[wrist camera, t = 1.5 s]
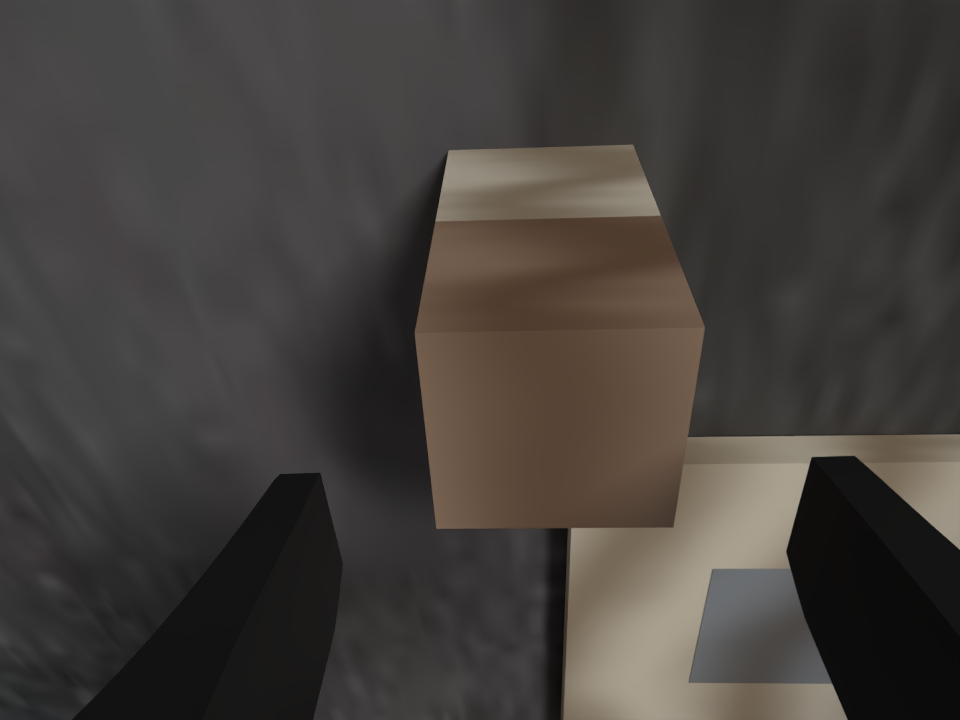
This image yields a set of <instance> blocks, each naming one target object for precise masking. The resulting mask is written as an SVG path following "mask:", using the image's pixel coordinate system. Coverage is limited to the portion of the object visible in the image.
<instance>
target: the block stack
mask: <svg viewBox="0 0 960 720" xmlns="http://www.w3.org/2000/svg"><path fill="white" fill-rule="evenodd" d="M704 330H705V327H704V324H703V322H702V319H701V316H700V314H699V311H698V309H697V306H696V304H695V301H694V299H693V296H692V294H691V291H690V289H689V286H688V284H687V281H686V278H685V276H684V273H683V271H682V268H681V266H680V263H679V261H678V258H677V256H676V253H675V251H674V248H673V245H672V243H671V240H670V238H669V235H668V233H667V230H666V228H665V225H664V223H663V220H662V218H661V215H660V212H659V210H658V207H657V205H656V202H655V200H654V197H653V195H652V192H651V190H650V187H649V185H648V182H647V180H646V177H645V174H644V172H643V169H642V167H641V164H640V162H639V159H638V157H637V154H636V152H635V149H634V147H633V145H612V146H579V147H546V148H513V149H480V150H449V151H448V157H447V162H446V167H445V173H444V178H443V184H442V189H441V194H440V200H439V205H438V210H437V216H436V221H435V226H434V232H433V237H432V243H431V248H430V253H429V259H428V264H427V269H426V275H425V280H424V285H423V291H422V296H421V301H420V307H419V312H418V318H417V323H416V328H415V341H416V350H417V359H418V368H419V377H420V386H421V395H422V404H423V413H424V422H425V431H426V440H427V449H428V458H429V467H430V476H431V485H432V494H433V503H434V512H435V521H436V529H493V528H673V527H674V521H675V514H676V508H677V502H678V495H679V489H680V483H681V476H682V470H683V464H684V457H685V451H686V445H687V438H688V432H689V425H690V419H691V413H692V406H693V400H694V394H695V387H696V381H697V375H698V368H699V362H700V356H701V349H702V343H703V336H704Z"/></svg>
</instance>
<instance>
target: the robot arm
mask: <svg viewBox="0 0 960 720" xmlns="http://www.w3.org/2000/svg"><path fill="white" fill-rule="evenodd" d="M786 554H787V557H788V561H789V565H790V568H791V572H792V576H793V580H794V583H795V587H796V590H797V594H798V597H799V601H800V604H801V607H802V611H803V614H804V617H805V620H806V622H807V625H808V627H809V630H810V632H811V635H812V637H813V639H814V642H815V644H816V647H817V649H818V651H819V654H820V656H821V659H822V661H823V663H824V666H825V668H826V670H827V673H828V675H829V677H830V680H831V682H832V684H833V687H834V689H835V692H836V694H837V696H838V699H839V701H840V703H841V706H842V708H843V710H844V713H845V715H846V717H847V720H960V549H959V548H957V547H956V546H955V545H954V544H953V543H952V542H951V541H949V540H948V539H947V538H946V537H945V536H944V535H943V534H942V533H940V532H939V531H938V530H937V529H936V528H935V527H934V526H933V525H931V524H930V523H929V522H928V521H927V520H926V519H925V518H924V517H922V516H921V515H920V514H919V513H918V512H917V511H916V510H915V509H914V508H912V507H911V506H910V505H909V504H908V503H907V502H906V501H905V500H904V499H902V498H901V497H900V496H899V495H898V494H897V493H896V492H895V491H894V490H893V489H891V488H890V487H889V486H888V485H887V484H886V483H885V482H884V481H883V480H882V479H880V478H879V477H878V476H877V475H876V474H875V473H874V472H873V471H872V470H870V469H869V468H868V467H867V466H866V465H865V464H864V463H863V462H861V461H860V460H859V459H858V458H857V457H856V456H827V457H811V461H810V465H809V468H808V472H807V476H806V480H805V483H804V487H803V491H802V494H801V498H800V502H799V505H798V509H797V513H796V516H795V520H794V524H793V528H792V531H791V535H790V539H789V542H788V546H787V550H786ZM342 565H343V563H342V559H341V555H340V551H339V547H338V543H337V538H336V534H335V530H334V526H333V522H332V518H331V514H330V510H329V506H328V502H327V498H326V494H325V490H324V486H323V482H322V478H321V474H320V473H301V474H280V475H279V476H278V477H277V478H276V479H275V480H274V481H273V483H272V484H271V485H270V487H269V488H268V489H267V491H266V492H265V494H264V495H263V496H262V498H261V499H260V500H259V502H258V503H257V505H256V506H255V507H254V509H253V510H252V512H251V513H250V514H249V516H248V517H247V518H246V520H245V521H244V522H243V524H242V525H241V527H240V528H239V529H238V531H237V532H236V533H235V534H234V536H233V537H232V538H231V540H230V541H229V542H228V544H227V545H226V546H225V548H224V549H223V550H222V552H221V553H220V554H219V556H218V557H217V558H216V559H215V561H214V562H213V563H212V564H211V566H210V567H209V568H208V569H207V571H206V572H205V573H204V574H203V576H202V577H201V578H200V580H199V581H198V582H197V583H196V585H195V586H194V587H193V588H192V590H191V591H190V592H189V593H188V595H187V596H186V597H185V598H184V599H183V601H182V602H181V603H180V604H179V605H178V606H177V608H176V609H175V610H174V611H173V612H172V613H171V615H170V616H169V617H168V618H167V619H166V620H165V621H164V623H163V624H162V625H161V626H160V627H159V628H158V630H157V631H156V632H155V633H154V634H153V635H152V636H151V638H150V639H149V640H148V641H147V642H146V643H145V645H144V646H143V647H142V648H141V649H140V650H139V651H138V652H137V653H136V655H135V656H134V657H133V658H132V659H131V660H130V661H129V662H128V663H127V664H126V665H125V666H124V667H123V669H122V670H121V671H120V672H119V673H118V674H117V675H116V676H115V677H114V678H113V679H112V680H111V681H110V682H109V683H108V684H107V685H106V686H105V687H104V688H103V689H102V690H101V691H100V692H99V693H98V694H97V695H96V696H95V697H94V698H93V699H92V700H91V701H90V702H89V703H88V704H87V705H86V706H85V707H84V708H83V709H82V710H81V711H80V712H79V713H78V714H77V715H76V716H75V717H74V718H73V719H72V720H313V717H314V713H315V709H316V705H317V701H318V697H319V693H320V689H321V685H322V680H323V676H324V672H325V668H326V664H327V660H328V655H329V651H330V647H331V643H332V638H333V634H334V630H335V623H336V616H337V608H338V600H339V592H340V583H341V574H342Z"/></svg>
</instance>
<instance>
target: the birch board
mask: <svg viewBox="0 0 960 720" xmlns="http://www.w3.org/2000/svg"><path fill="white" fill-rule="evenodd" d="M827 456H856V457H857V458H858V459H859V460H860V461H861V462H863V463H864V464H865V465H866V466H867V467H868V468H869V469H870V470H872V471H873V472H874V473H875V474H876V475H877V476H878V477H879V478H880V479H882V480H883V481H884V482H885V483H886V484H887V485H888V486H889V487H890V488H891V489H893V490H894V491H895V492H896V493H897V494H898V495H899V496H900V497H901V498H902V499H904V500H905V501H906V502H907V503H908V504H909V505H910V506H911V507H912V508H914V509H915V510H916V511H917V512H918V513H919V514H920V515H921V516H922V517H924V518H925V519H926V520H927V521H928V522H929V523H930V524H931V525H933V526H934V527H935V528H936V529H937V530H938V531H939V532H940V533H942V534H943V535H944V536H945V537H946V538H947V539H948V540H949V541H951V542H952V543H953V544H954V545H955V546H956V547H957V548H959V549H960V434H950V435H852V436H754V437H688V438H687V445H686V451H685V457H684V464H683V470H682V476H681V483H680V489H679V495H678V502H677V508H676V514H675V521H674V527H673V528H568V538H567V565H566V591H565V618H564V644H563V670H562V697H561V720H847V717H846V715H845V713H844V710H843V708H842V706H841V703H840V701H839V699H838V696H837V694H836V692H835V689H834V687H833V684H832V682H831V680H830V677H829V675H828V673H827V670H826V668H825V666H824V663H823V661H822V659H821V656H820V654H819V651H818V649H817V647H816V644H815V642H814V639H813V637H812V635H811V632H810V630H809V627H808V625H807V622H806V620H805V617H804V614H803V611H802V607H801V604H800V601H799V597H798V594H797V590H796V587H795V583H794V580H793V576H792V572H791V568H790V565H789V561H788V557H787V554H786V550H787V546H788V542H789V539H790V535H791V531H792V528H793V524H794V520H795V516H796V513H797V509H798V505H799V502H800V498H801V494H802V491H803V487H804V483H805V480H806V476H807V472H808V468H809V465H810V461H811V457H827Z"/></svg>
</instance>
